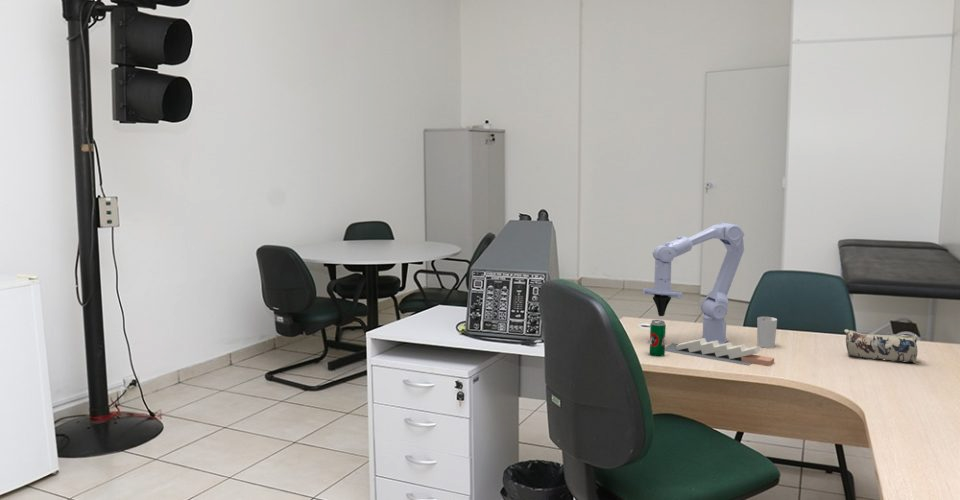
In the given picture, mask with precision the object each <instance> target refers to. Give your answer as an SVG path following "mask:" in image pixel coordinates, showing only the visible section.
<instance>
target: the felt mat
mask: <svg viewBox="0 0 960 500" xmlns="http://www.w3.org/2000/svg"><path fill="white" fill-rule="evenodd" d="M679 344H680V343H671V344H669V345H667V346H665V352H667V353H674V354H680V355H684V356H685V355H686V356H691V357H697V358H701V359H708V360H715V361H719V362H720V361H721V362H725V363H731V364H737V365H743V366H751V365H752V364H753V363H748V362H742V361H741V358H742V357H738V358H733V359H730V358H729V355H724V356H719V357H716V355H715V352H713V353H708V354H703V355H702V352H701V350H699V351H694V352H689V349H688V348H686V349H681V350H677V348H676V345H679Z"/></svg>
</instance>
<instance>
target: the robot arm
mask: <svg viewBox="0 0 960 500" xmlns="http://www.w3.org/2000/svg"><path fill="white" fill-rule="evenodd" d="M744 237H745V233H744V231H743V229H742V228H741V226H739V225H738V224H736V223H735V224H734V223H727V222H725V221H722V222H719V223H717V224H713V225H711V226H710V227H708V228H706V229H703V230H701V231H700V232H698V233H695V234H694V235H692V236H690V237H687V236H684V235H683V236H682V235H678V236H677V237H676V239H674V240H672V241H666V242H665V243H664V244H665V245H664V244H659V245H658V246H656V247H655V248H654V250H653V252H652V257H653V259H654V285H653V287H654V288H645V287H644V288H642V295H652V300H653V301H654V304H655V307H656V309H657V314H658V317H664V316H665V315H666V310H667V307H668V306H669V303H670V301H671V300H672V298H676V299H683V292H682V291H680V292H679V291H676V290H675V291H674V290H671V288H672V287H671V286H672V285H671V283H672V281H671V280H672V261H673V260H674V259H675V258H677V257H679V256H682V255H684V254H686V253H688V252H690V251H692V249H693V246H696V245H699V244H701V243H704V242H707V241H710V240H712V239H718V240H719V241H720V242H721V243H723V245H724V247H725V248H726V252H725V255H724V258H723V261H722V264H721V266H720V269H719V272H718V274H717V276H716V279H715V283H714V285H713V288H712V290H711V291H710V292H709V293H707V295H706V297H705V298H704V300H703V301H702V302H701V303H700V310H701V311H702V312H701V313H702V314H703V316H702V319H703V320H702V338H701V339H703V338H705V339H706V342H711V341H716V340H718V343H719V345H720V344H725V343H728V341H729V339H728V338H727V322H726V320H725V318H726V316H727V315H728V305H729V298H728V293H729V291H730V289H731V286H732V283H733V281H734V277H735V275H736V272H737V270H738V267H739V265H740V263H741V259H742V257H743V254H744V251H745V246H744V245H745V243H744Z"/></svg>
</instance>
